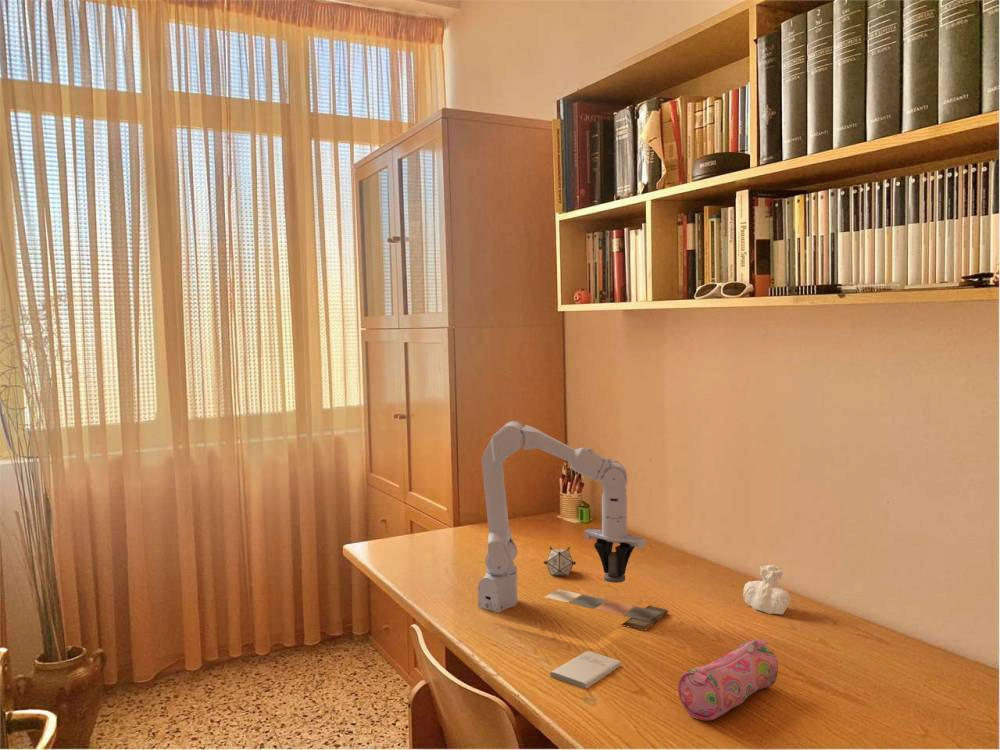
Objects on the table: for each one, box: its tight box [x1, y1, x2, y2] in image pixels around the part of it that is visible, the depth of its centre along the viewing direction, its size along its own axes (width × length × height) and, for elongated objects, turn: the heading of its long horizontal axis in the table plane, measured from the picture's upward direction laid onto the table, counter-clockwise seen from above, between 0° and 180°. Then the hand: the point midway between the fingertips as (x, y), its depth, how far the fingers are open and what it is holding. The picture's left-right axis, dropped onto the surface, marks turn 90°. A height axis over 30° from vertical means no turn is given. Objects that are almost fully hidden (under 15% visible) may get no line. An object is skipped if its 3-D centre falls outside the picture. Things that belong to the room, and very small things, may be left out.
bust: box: [743, 564, 792, 615], centre depth 185 cm, size 12×8×11 cm
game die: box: [543, 546, 577, 577], centre depth 209 cm, size 9×8×10 cm
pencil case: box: [677, 638, 779, 721], centre depth 141 cm, size 21×9×9 cm, turn 132°
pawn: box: [603, 551, 626, 584], centre depth 184 cm, size 5×5×6 cm
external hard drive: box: [549, 650, 622, 690], centre depth 154 cm, size 2×8×12 cm
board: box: [544, 588, 669, 631], centre depth 186 cm, size 12×28×1 cm, turn 54°
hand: (614, 573), depth 184 cm, fingers closed on pawn, 3 cm apart
